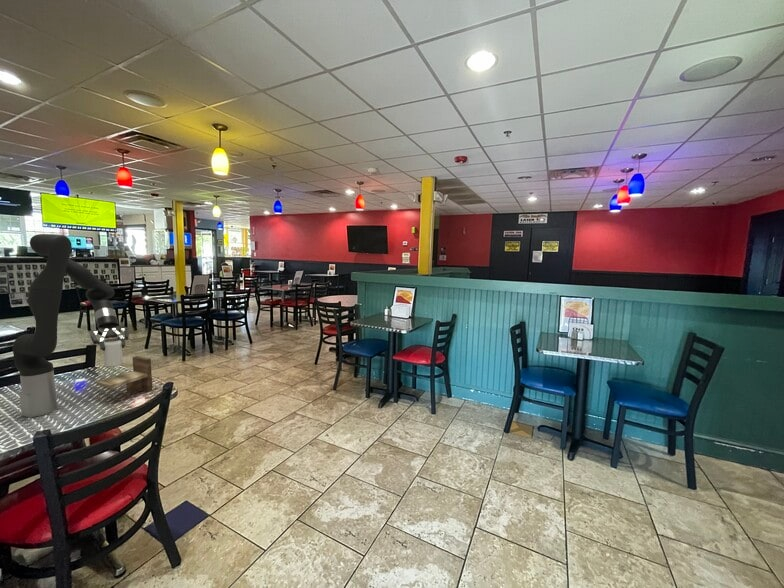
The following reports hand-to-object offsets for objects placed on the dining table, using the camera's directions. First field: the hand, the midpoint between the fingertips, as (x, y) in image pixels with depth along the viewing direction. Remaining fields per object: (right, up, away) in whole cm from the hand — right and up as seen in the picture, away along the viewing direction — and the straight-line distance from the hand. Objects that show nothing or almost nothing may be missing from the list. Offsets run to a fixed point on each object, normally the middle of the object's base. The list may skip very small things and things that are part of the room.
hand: (113, 348), depth 145 cm
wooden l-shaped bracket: (+2, -23, +4) cm, 23 cm away
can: (-2, -8, +2) cm, 9 cm away
